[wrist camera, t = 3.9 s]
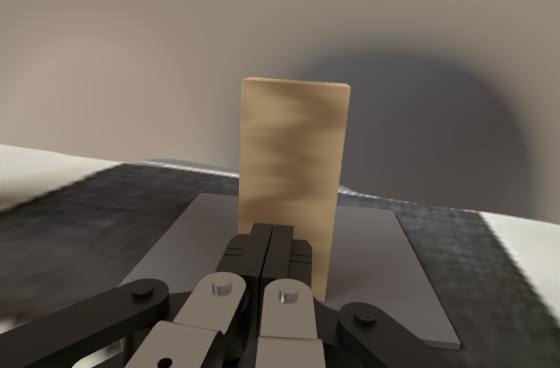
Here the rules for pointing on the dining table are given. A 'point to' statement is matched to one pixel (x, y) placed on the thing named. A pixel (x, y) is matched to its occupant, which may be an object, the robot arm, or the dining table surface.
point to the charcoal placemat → (342, 265)
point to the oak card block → (293, 161)
